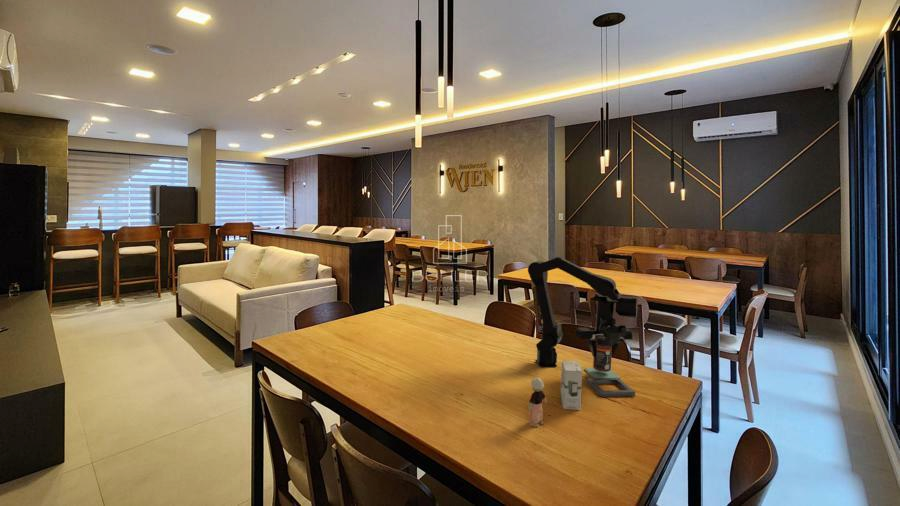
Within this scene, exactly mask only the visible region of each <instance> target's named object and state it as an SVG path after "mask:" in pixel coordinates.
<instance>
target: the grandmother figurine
mask: <svg viewBox="0 0 900 506" xmlns="http://www.w3.org/2000/svg"><path fill="white" fill-rule="evenodd" d="M530 382H531V383H530V384H531V388H532V391H533V392H532V393H531V396H530V399H529V402H528V406H527V409H528V410H529V414H528V421H529V426H530V427H534V428H540V425H543V424H544V416H543V415H544V411H543V410H544V409H543V405H542V403H545V404H546V403H547V398H546V395H545V393H544V391H543V390H542V389H544V387H545V385H544V381H543V380H542V379H541V378H539V377H534V378H533V379H531V381H530Z"/></svg>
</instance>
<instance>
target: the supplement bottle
mask: <svg viewBox="0 0 900 506" xmlns="http://www.w3.org/2000/svg"><path fill="white" fill-rule="evenodd" d="M596 340H597V342H596V355H595V357H593V365H592V368H594V369H596V370H597V371H602V372H608V371H610V370H611V369H612V358H613V357H612V346H611V345H610V341H609V340H606V338H605V336H597V339H596ZM611 371H612V370H611Z"/></svg>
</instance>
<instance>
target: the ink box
mask: <svg viewBox="0 0 900 506" xmlns="http://www.w3.org/2000/svg"><path fill="white" fill-rule="evenodd" d="M582 382H583V371H582V368H581V366H580V363H579V361H573V360H572V361H569V360H568V361H567V360H562V361H561V374H560V394H559V397H560V401H561V404H562V407H563V410H575V411H581V404H582V402H581V401H582Z"/></svg>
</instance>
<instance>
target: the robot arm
mask: <svg viewBox="0 0 900 506" xmlns="http://www.w3.org/2000/svg"><path fill="white" fill-rule="evenodd" d="M556 269H558V270H561V271H563V272H565V273H566V274H569V275H570V276H573V277H574V278H576V279H577V280H579V281H581V282H583V283H585V284H587V285H588V286H589V287H590V288H591V289H593V290H594V291H595V292H596V294H595V295H594V296H593V297H592V298H591V299H590V300H591V301H594V302H596V314H594V319H595V325H594V327H593V329H594V330H591V329H589V328H588V327H577V328H576V329H575V334H574V335H575V336H577V337H578V338H579V339H581V340H586V341H587V344H588V347H589V349H590V352H591V355H592V357H593V358H594V357H595V355H596V343H598V341H597V340H598V339H596V337H605V338H606V340H609V341H610V345H611V346H612V358H614V354H615V352H616V350H617V348H618V347H619V345H620V344H621V343H622V342H625V341H626V340H634V337H633V336H634V333H633V331H632V330H630V329H628V328H627V326H626V325H621V324H620V325H617V323H616V318H615V313H616V315H617V314H618V316H619V317H627V318H635V319H637V317H638V310H639V309H638V308H639V307H638V297H634V296H633V297H627V296H626V297H625V296H622V294H621V293H620V292H619V290H618V289H617V284H616V281H615V280H614V279H612V278H611V277H608V276H605V275H601V274H596V273H594V272H591V271H589V270H587V269H585V268H582V267H581V266H579V265H577V264H575V263H573V262H571V261H569V260H567V259H566V258H565V257H563V256H557V257H554V258H553V259H550V260H547V261H542V260H537V261H534V262H532V263H530V264H529V266H528V267H527V272H528V275H529V278H530V281H532V284H533V285H534V287H535V291H536V295H537V300H538V305H539V310H540V315H541V320H542V329H541V333H542V335H541V337H542V339H541V340H540V341H538V342H537V343H536V344H535V346H536V348H537V349H536V351H537V352H536V359H535V362H536V364H537V365H538V366H539V367H540V368H542V367H546V368H548V367H550V368H551V367H555V368H556V367H558V365H557V361H558V353H557V351H556V350H557V349H556V347H557V345H558V344H559V343H560V342H561V341H562V338H563V335H564V333H563V330H562V324H561V323H559V324H558V323H557V322H556V320H555V315H554V311H553V308H552V307H553V306H552V302H551V296H550V292H549V288H548V277H549V275H548V274H549V271H553V270H556Z"/></svg>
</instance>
